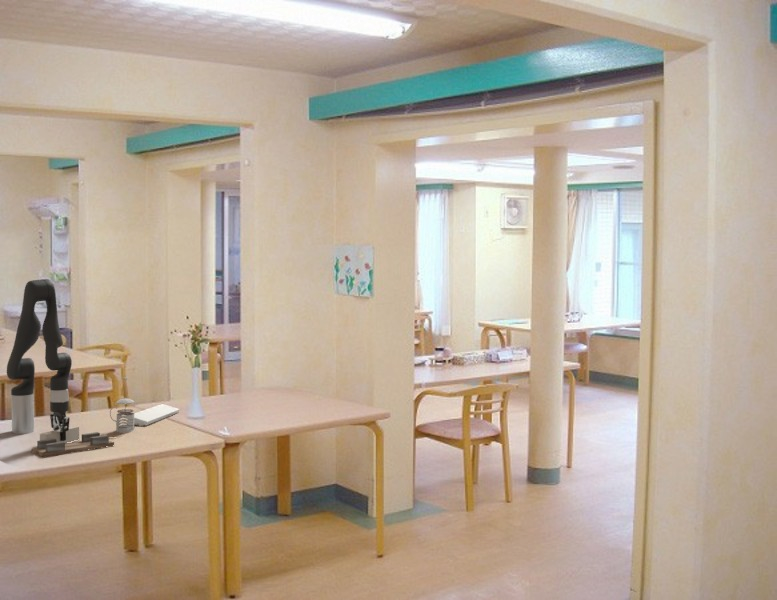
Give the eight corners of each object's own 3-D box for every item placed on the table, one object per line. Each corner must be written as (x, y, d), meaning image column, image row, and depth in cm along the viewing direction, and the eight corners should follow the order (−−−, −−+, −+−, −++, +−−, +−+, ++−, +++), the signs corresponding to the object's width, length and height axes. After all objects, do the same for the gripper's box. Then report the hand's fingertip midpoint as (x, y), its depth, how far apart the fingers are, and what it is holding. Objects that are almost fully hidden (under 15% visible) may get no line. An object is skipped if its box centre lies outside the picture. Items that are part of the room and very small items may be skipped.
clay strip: (40, 447, 371) (39, 433, 371) (72, 439, 387) (72, 426, 387) (47, 448, 369) (46, 434, 369) (79, 440, 386) (79, 426, 385)
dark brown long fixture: (31, 452, 363) (31, 441, 363) (100, 441, 384) (100, 431, 384) (44, 457, 355) (44, 446, 354) (114, 445, 376) (114, 435, 375)
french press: (136, 433, 401) (136, 378, 400) (109, 434, 398) (109, 379, 397) (136, 429, 411) (136, 375, 409) (110, 430, 408) (109, 376, 406)
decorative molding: (177, 418, 448) (160, 412, 450) (179, 409, 448) (162, 403, 450) (145, 431, 415) (126, 425, 417) (147, 421, 414) (128, 415, 416)
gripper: (43, 399, 380) (44, 438, 381) (58, 403, 370) (59, 443, 371) (60, 397, 385) (61, 435, 386) (75, 401, 375) (76, 441, 376)
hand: (60, 439), depth 378 cm, fingers closed on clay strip, 5 cm apart
